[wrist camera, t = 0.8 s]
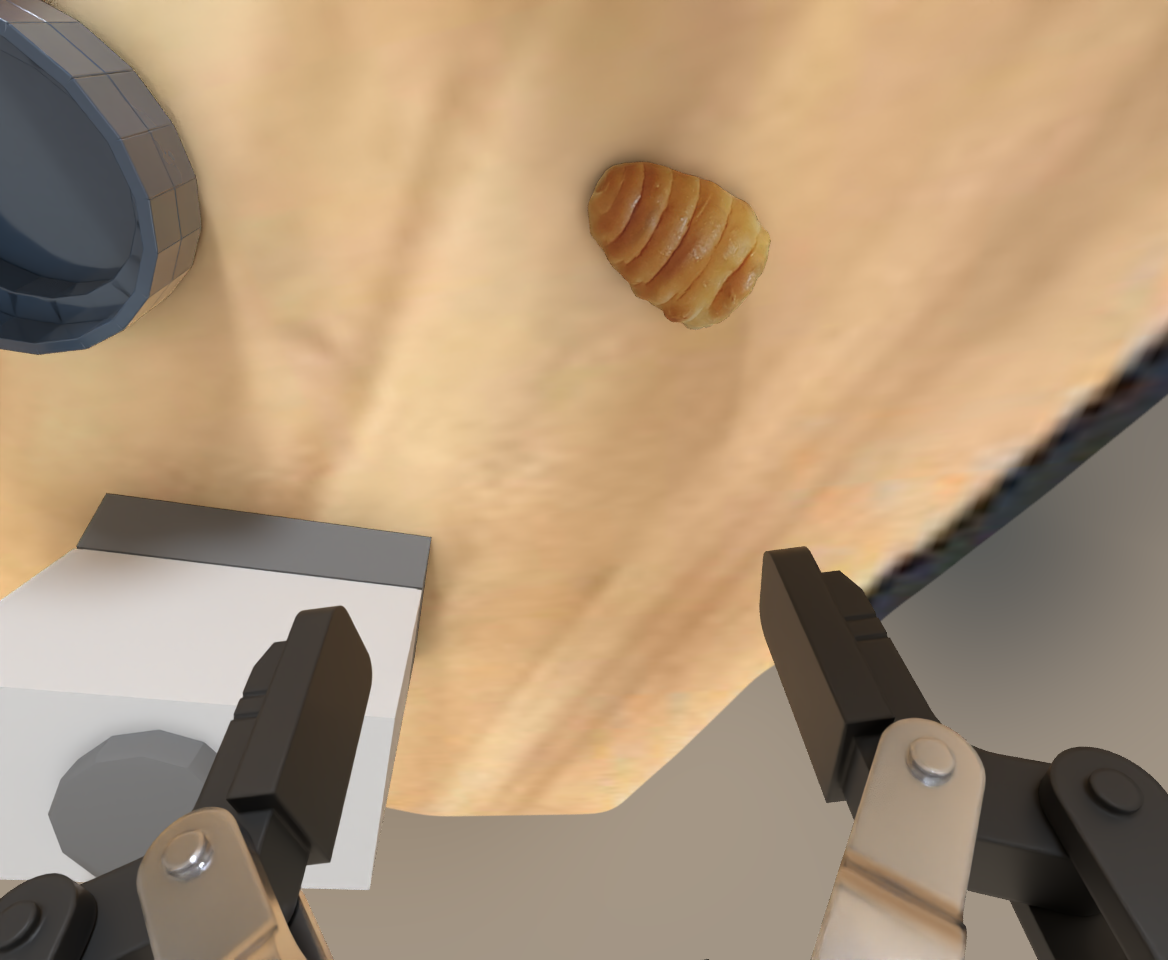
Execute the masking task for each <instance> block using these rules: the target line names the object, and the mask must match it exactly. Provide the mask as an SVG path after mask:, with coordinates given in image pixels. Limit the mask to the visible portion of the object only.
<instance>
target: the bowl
mask: <svg viewBox="0 0 1168 960" xmlns="http://www.w3.org/2000/svg"><path fill="white" fill-rule="evenodd" d="M201 226H202V225H201V216H200V208H199V199H198V190H197V182H196V176H195V174H194V172H193V169H192V167H191V164H190V162H189V160H188V157H187V155H186V152H185V150H184V148H183V145H182V143H181V140H180V138H179V136H178V133H177V131H176V128H175V126H174V124H172V122H171V120H170V119H169V118H168V116H167V115H166V113H165V112H164V111H163V109H162V108H161V107H160V105H159V104H158V102H157V101H156V100H155V98H154V97H153V96H152V94H151V93H150V92H149V90H148V89H147V87H146V86H145V85H144V83H143V82H142V81H141V79H140V78H139V76H138V75H137V74H136V72H135V71H133V69H132V68H131V67H130V66H129V65H128V64H127V63H126V62H124V61H123V60H122V59H121V58H120V57H119V56H118V55H117V54H115V53H114V52H113V51H112V50H111V49H110V48H109V47H108V46H106V45H105V44H104V43H103V42H102V41H101V40H100V39H99V38H97V37H96V36H95V35H94V34H93V33H92V32H91V31H90V30H88V29H87V28H86V27H85V26H84V25H83V24H82V23H80V22H79V21H78V20H76V19H74V18H72V17H70V16H69V15H67V14H65V13H63V12H61V11H59V10H58V9H56V8H54V7H52V6H50V5H49V4H47V3H45V2H43V1H41V0H0V349H3V350H10V351H16V352H23V353H30V354H36V355H39V354H40V355H42V354H50V353H58V352H67V351H75V350H84V349H88V348H90V347H92V346H94V345H96V344H98V343H100V342H102V341H104V340H106V339H108V338H110V337H112V336H114V335H116V334H118V333H119V332H121V331H123V330H125V329H126V328H127V327H129V326H130V325H131V324H133V323H134V322H135V321H137V320H138V319H139V318H141V317H142V316H143V315H144V314H146V313H147V312H148V311H150V310H151V309H152V308H154V307H155V306H156V305H158V304H159V303H160V302H162V301H163V300H164V299H165V298H167V297H168V296H169V295H170V294H171V293H172V292H173V290H174V289H175V288H176V286H177V285H178V284H179V283H180V281H181V280H182V279H183V277H184V276H185V275H186V274H187V272H188V271H189V270H190V269H191V266H192V264H193V260H194V256H195V252H196V248H197V244H198V240H199V235H200V231H201Z"/></svg>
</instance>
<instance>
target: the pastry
mask: <svg viewBox="0 0 1168 960" xmlns="http://www.w3.org/2000/svg"><path fill="white" fill-rule="evenodd" d="M588 215H589V223H590V233H591V235H592V236H593V238H594V239H595V240H596V242H597V243H598V245H599V246H600V247H601V248H602V249H603V250H604V252H605V254H606V257H607V259H608V260H609V262H610V264H611V265H612V267H613V268H614V269H615V270H617V271H618V272H619V273H620V274H621V275H622V276H623V277H624V279H626V280H627V281H628V282H629V284H630V286H631V289H632V291H633V292H634V294H635V296H636V297H639V298H641V299H644V300H647V301H649V302H650V303H651V304H652V305H654V306H656V307H658V308H659V309H661V310H662V311H663V312H664V315H665V317H666V318H667V319H669V320H670V321H672V322H681V323H683V324H684V325H685V326H686V327H687V328H689V329H693V330H696V329H701V328H703V327H705V328H707V327H710V326H712V325H713V324H718V323H720V322H722V321H724V320H725V319H726V318H727V317H728V316H729V315H730V314H731V313H732V312H733V311H734V310H735V309H736V308H737V307H738V306H739V305H740V304H741V303H742V302H743V301H744V300H745V299H746V297H747V296H748V295H749V294H750V293H751V291H752V289H753V287H754V285H755V283H756V280H757V278H758V277H759V276H760V275H761V274H762V272H763V269H764V267H765V264H766V261H767V258H768V251H769V246H770V242H771V240H770V237H769V234H768V232H767V231H766V230H765V229H764V228H763V227H762V226H761V225H760V224H759V222H758V219H757V217H756V215H755V213H754V211H753V210H752V208H751V207H750V206H749V205H748V204H747V203H746V202H745V201H743V200H741V199H738V198H736V197H734V196H732V195H731V194H730V193H729V192H727V191H725V190H723V189H722V188H721V187H720V186H718V185H717V184H715V183H713V182H711V181H708V180H704V179H701V178H698V177H696V176H692V175H687V174H684V173H681V172H678V171H676V170H673V169H670V168H668V167H666V166H662V165H658V164H654V163H650V162H634V163H622V164H617V165H614V166H612V167H610V168H608V169H607V170H606V171H605V173H604V174H603V176H602V177H601V178H600V179H599V181H598V183H597V185H596V187H595V189H594V192H593V195H592V197H591V198H590V201H589V204H588Z"/></svg>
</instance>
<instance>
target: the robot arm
mask: <svg viewBox="0 0 1168 960" xmlns="http://www.w3.org/2000/svg"><path fill="white" fill-rule="evenodd" d="M759 607H760V619H761V624H762V629H763V633H764V636H765V639H766V642H767V645H768V647H769V650H770V653H771V655H772V658H773V661H774V663H775V666H776V669H777V671H778V674H779V677H780V679H781V682H782V685H783V687H784V690H785V693H786V696H787V698H788V700H789V704H790V706H791V709H792V712H793V714H794V717H795V720H796V722H797V725H798V728H799V730H800V733H801V736H802V738H803V741H804V744H805V746H806V749H807V752H808V754H809V757H810V760H811V762H812V765H813V768H814V771H815V773H816V776H817V779H818V781H819V784H820V786H821V789H822V792H823V795H824V797H825V800H826V803H829V802H838V801H847V804H848V806H849V809H850V811H851V814H852V816H853V819H854V823H853V827H852V830H851V833H850V836H849V839H848V843H847V846H846V849H845V852H844V855H843V859H842V861H841V864H840V867H839V870H838V874H837V877H836V880H835V883H834V886H833V890H832V893H831V896H830V899H829V903H828V905H827V909H826V912H825V915H824V918H823V921H822V925H821V928H820V931H819V934H818V937H817V941H816V944H815V947H814V950H813V953H812V957H811V960H964V957H965V950H966V939H967V931H966V926H965V925H964V924H963V911H964V903H965V898H966V893H967V890H968V891H972V892H976V893H980V894H985V895H989V896H993V897H998V898H1002V899H1006V900H1010V902H1011V904H1012V906H1013V908H1014V911H1015V913H1016V915H1017V917H1018V919H1019V921H1020V923H1021V925H1022V927H1023V929H1024V931H1025V934H1026V936H1027V938H1028V940H1029V942H1030V944H1031V946H1032V948H1033V950H1034V952H1035V954H1036V956H1037V959H1038V960H1168V794H1167V793H1166V791H1165V790H1164V789H1163V788H1162V787H1161V785H1160V784H1159V783H1158V782H1157V781H1156V780H1155V779H1154V778H1153V777H1152V776H1151V775H1150V774H1148V773H1147V772H1146V771H1145V770H1143V769H1142V768H1141V767H1139V766H1138V765H1136V764H1135V763H1133V762H1131V761H1130V760H1128V759H1126V758H1124V757H1122V756H1120V755H1117V754H1115V753H1112V752H1110V751H1106V750H1103V749H1099V748H1093V747H1075V748H1070V749H1067V750H1065V751H1063V752H1061V753H1060V754H1058V756H1057V757H1056V758H1055V759H1054V761H1053V762H1052V764H1051V763H1046V762H1040V761H1034V760H1029V759H1023V758H1018V757H1011V756H1006V755H1001V754H996V753H992V752H988V751H985V750H982V749H979V748H977V747H975V746H972V745H970V744H969V743H968V742H967V741H966V740H965V739H964V738H963V737H962V736H960V735H959V734H958V733H957V732H955V731H954V730H952V729H951V728H949V727H947V726H945V725H943V724H941V723H940V721H939V720H938V719H937V718H936V717H935V715H934V714H933V712H932V711H931V709H930V708H929V706H928V704H927V702H926V700H925V699H924V697H923V695H922V693H921V692H920V690H919V688H918V686H917V685H916V683H915V681H914V680H913V678H912V676H911V674H910V672H909V671H908V669H907V667H906V665H905V664H904V662H903V660H902V658H901V657H900V655H899V653H898V651H897V650H896V648H895V646H894V644H893V643H892V641H891V639H890V638H888V637H887V632H886V630H885V629H884V627H883V625H882V623H881V622H880V620H879V618H877V617H876V613H875V611H874V609H873V608H872V606H871V604H870V602H869V601H868V599H867V597H866V595H865V593H864V592H863V590H862V589H861V588H860V587H859V586H857V585H856V584H855V583H854V582H853V581H851V580H850V579H849V578H848V577H847V576H845V575H844V574H843V573H842V572H841V571H839V570H838V571H831V572H823V573H821V571H820V569H819V567H818V565H817V564H816V562H815V560H814V558H813V556H812V554H811V552H810V551H809V549H808V548H807V547H805V546H803V547H795V548H788V549H780V550H772V551H766V552H765V553H764V556H763V566H762V579H761V592H760V606H759ZM371 686H372V664H371V659H370V656H369V653H368V651H367V649H366V647H365V645H364V643H363V641H362V639H361V637H360V635H359V633H358V631H357V629H356V627H355V625H354V623H353V621H352V619H351V617H350V615H349V613H348V611H347V610H346V608H345V607H343V606H341V605H340V606H332V607H324V608H317V609H309V610H302V611H300V612H299V613H298V614H297V615H296V617H295V619H294V622H293V625H292V627H291V630H290V632H289V635H288V638H287V640H286V641H280V642H274V643H273V644H272V645H271V646H270V647H269V649H268V650H267V651H266V652H265V653H264V655H263V656H262V657H261V658H260V659H259V661H258V662H257V663H256V664H255V665H254V666H253V669H252V671H251V673H250V676H249V678H248V681H247V683H246V685H245V688H244V690H243V697H242V698H240V700H239V702H238V704H237V707H236V709H235V712H234V714H233V715H234V719H233V720H231V721H230V724H229V726H228V728H227V731H226V733H225V735H224V738H223V740H222V743H221V745H220V747H219V750H218V752H217V755H216V757H215V759H214V762H213V764H212V767H211V769H210V771H209V774H208V776H207V778H206V781H205V783H204V786H203V788H202V790H201V793H200V795H199V798H198V800H197V802H196V804H195V806H194V808H193V810H192V811H191V812H190V813H187V814H185V815H184V816H182V817H180V818H179V819H177V820H176V821H174V822H173V823H172V824H170V825H169V826H168V827H167V828H166V829H165V830H164V831H163V832H162V833H161V834H160V835H159V836H158V837H157V838H156V839H155V840H154V842H153V843H152V844H151V846H150V847H149V849H148V850H147V852H146V854H145V855H144V856H143V857H141V858H139V859H137V860H135V861H132V862H130V863H128V864H126V865H123V866H121V867H119V868H116V869H114V870H112V871H110V872H107V873H105V874H103V875H101V876H98V877H96V878H94V879H92V880H89V881H87V882H85V883H83V884H80V885H79V884H77V883H76V882H75V881H73V880H72V879H70V878H69V877H67V876H65V875H63V874H58V873H50V874H44V875H40V876H37V877H34V878H32V879H30V880H27V881H26V882H24V883H22V884H20V885H18V886H17V887H16V888H14V889H12V890H11V891H10V892H8V893H7V894H6V895H4V896H3V897H2V898H1V899H0V960H334V959H333V956H332V955H331V952H330V950H329V948H328V945H327V943H326V941H325V939H324V936H323V934H322V932H321V930H320V928H319V926H318V923H317V921H316V919H315V917H314V915H313V912H312V910H311V908H310V906H309V904H308V902H307V899H306V897H305V895H304V893H303V891H302V890H301V885H302V881H303V877H304V873H305V869H306V866H307V865H315V864H323V863H330V862H331V858H332V854H333V849H334V845H335V841H336V837H337V832H338V828H339V824H340V819H341V815H342V811H343V806H344V802H345V798H346V794H347V789H348V785H349V781H350V776H351V772H352V768H353V764H354V759H355V755H356V751H357V746H358V742H359V738H360V733H361V729H362V725H363V721H364V716H365V712H366V708H367V703H368V699H369V695H370V691H371ZM706 960H709V959H706Z"/></svg>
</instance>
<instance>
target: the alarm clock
mask: <svg viewBox="0 0 1168 960" xmlns="http://www.w3.org/2000/svg"><path fill="white" fill-rule="evenodd" d="M430 543H431V537H425V536H417V535H410V534H403V533H395V532H388V531H380V530H373V529H366V528H358V527H351V526H343V525H336V524H329V523H321V522H314V521H306V520H299V519H292V518H284V517H277V516H269V515H262V514H255V513H247V512H240V511H232V510H225V509H218V508H210V507H203V506H195V505H188V504H181V503H173V502H166V501H159V500H151V499H144V498H136V497H129V496H122V495H114V494H107V493H106V495H105V497H104V499H103V500H102V502H101V504H100V506H99V507H98V509H97V511H96V513H95V514H94V516H93V518H92V520H91V521H90V523H89V525H88V527H87V528H86V530H85V532H84V534H83V535H82V537H81V539H80V541H79V543H78V544H77V546H76V547H77V549H72V550H71V551H69V552H68V553H67V554H65V555H64V556H62V557H61V558H60V559H58V560H57V561H55V562H54V563H52V564H51V565H50V566H48V567H47V568H45V569H44V570H43V571H41V572H40V573H38V574H37V575H36V576H34V577H33V578H31V579H30V580H28V581H27V582H26V583H24V584H23V585H21V586H20V587H19V588H17V589H16V590H14V591H13V592H11V593H10V594H9V595H7V596H6V597H4V598H3V599H2V600H0V879H10V880H13V879H14V880H30V879H32V878H34V877H37V876H40V875H44V874H50V873H58V874H63V875H65V876H67V877H69V878H70V879H72V880H73V881H80V882H87V881H89V880H92V879H94V878H96V877H98V876H101V875H103V874H105V873H107V872H110V871H112V870H114V869H116V868H119V867H121V866H123V865H126V864H128V863H130V862H132V861H135V860H137V859H139V858H141V857H143V856H144V855H145V854H146V852H147V850H148V849H149V847H150V846H151V844H152V843H153V842H154V840H155V839H156V838H157V837H158V836H159V835H160V834H161V833H162V832H163V831H164V830H165V829H166V828H167V827H168V826H169V825H170V824H172V823H173V822H174V821H176V820H177V819H179V818H180V817H182V816H184V815H185V814H187V813H190V812H191V811H192V810H193V808H194V806H195V804H196V802H197V800H198V798H199V795H200V793H201V790H202V788H203V786H204V783H205V781H206V778H207V776H208V774H209V771H210V769H211V767H212V764H213V762H214V759H215V757H216V755H217V752H218V750H219V747H220V745H221V743H222V740H223V738H224V735H225V733H226V731H227V728H228V726H229V724H230V721H231V720H233V719H234V715H233V714H234V712H235V709H236V707H237V704H238V702H239V700H240V698H242V697H243V690H244V688H245V685H246V683H247V681H248V678H249V676H250V673H251V671H252V669H253V666H254V665H255V664H256V663H257V662H258V661H259V659H260V658H261V657H262V656H263V655H264V653H265V652H266V651H267V650H268V649H269V647H270V646H271V645H272V644H273V643H274V642H280V641H286V640H287V638H288V635H289V632H290V630H291V627H292V625H293V622H294V619H295V617H296V615H297V614H298V613H299V612H300V611H302V610H309V609H317V608H324V607H332V606H340V605H341V606H343V607H345V608H346V610H347V611H348V613H349V615H350V617H351V619H352V621H353V623H354V625H355V627H356V629H357V631H358V633H359V635H360V637H361V639H362V641H363V643H364V645H365V647H366V649H367V651H368V653H369V656H370V659H371V664H372V686H371V691H370V695H369V699H368V703H367V708H366V712H365V716H364V721H363V725H362V729H361V733H360V738H359V742H358V746H357V751H356V755H355V759H354V764H353V768H352V772H351V776H350V781H349V785H348V789H347V794H346V798H345V802H344V806H343V811H342V815H341V819H340V824H339V828H338V832H337V837H336V841H335V845H334V849H333V854H332V858H331V862H330V863H323V864H315V865H307V866H306V869H305V873H304V877H303V881H302V885H301V888H319V889H321V888H322V889H354V890H369V889H370V884H371V879H372V874H373V869H374V863H375V859H376V854H377V848H378V843H379V838H380V833H381V828H382V823H383V818H384V812H385V807H386V802H387V797H388V792H389V787H390V781H391V776H392V771H393V766H394V761H395V756H396V751H397V745H398V740H399V735H400V730H401V725H402V720H403V714H404V709H405V704H406V699H407V694H408V689H409V684H410V678H411V673H412V668H413V663H414V657H415V650H416V643H417V636H418V628H419V621H420V614H421V607H422V600H423V593H424V586H425V579H426V572H427V565H428V557H429V550H430Z"/></svg>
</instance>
